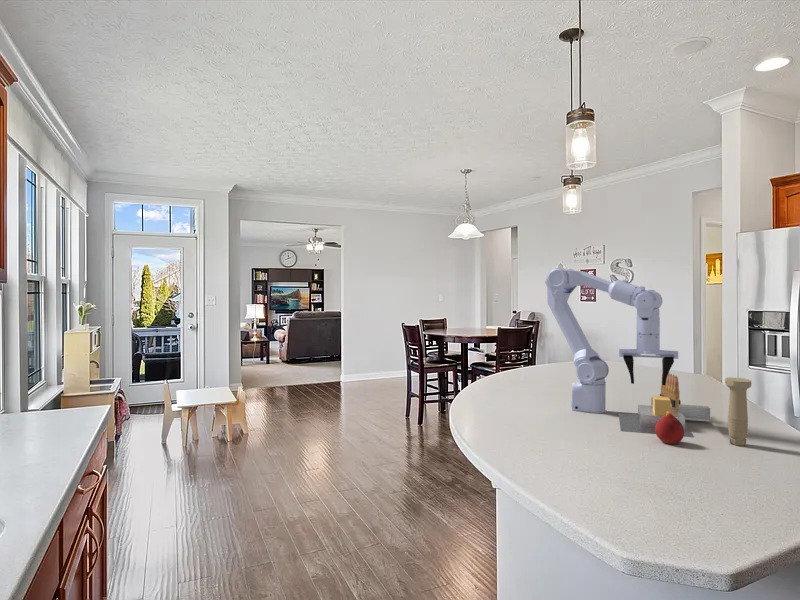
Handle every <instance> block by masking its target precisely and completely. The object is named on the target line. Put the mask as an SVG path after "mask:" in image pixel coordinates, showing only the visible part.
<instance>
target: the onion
mask: <svg viewBox="0 0 800 600" xmlns="http://www.w3.org/2000/svg"><path fill="white" fill-rule="evenodd" d="M655 432H656V434H655V435H656V436H657V438H658V439H659V440H660V441H661V442H662V443H663V444H666V445H677V444H679V443H680V442H681V441H682V440H683V438H685V437H684V428H683V426H682V424H681V423H680V421H679V420H678V419H677V418H675V417H674V416H673V415H672V414H671V413H670V412H666V416H664V417H662V418H661V419H660V420H659V421H658V422H657V424H656V426H655Z"/></svg>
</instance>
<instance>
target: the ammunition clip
mask: <svg viewBox="0 0 800 600" xmlns="http://www.w3.org/2000/svg"><path fill="white" fill-rule="evenodd" d="M679 385H680V384H679V378H678V375H675V374H672V373H670V372H669V373H668V376H667V379H666V384H665V385H662V380H661V383H660V393H659V396H668V397H669V399H670V400H671V407H677V408H678V407H679V404H682V402H681V399H680V388H679V387H680V386H679Z"/></svg>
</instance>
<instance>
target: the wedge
mask: <svg viewBox="0 0 800 600" xmlns="http://www.w3.org/2000/svg"><path fill="white" fill-rule="evenodd" d="M652 397H653V412H654V415H660V416H666V412H670V413H671V400H670V399H669V397H668V396H660V395H652Z"/></svg>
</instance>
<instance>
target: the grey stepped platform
mask: <svg viewBox="0 0 800 600" xmlns="http://www.w3.org/2000/svg"><path fill="white" fill-rule="evenodd" d="M650 403H651V405H645V404H644V405H643V404H637V414H634V413H633V414H632V413H631V414H630V413H620V412H619V413H617V414H618V419H619V427H620V432H626V433H636V434H637V433H638V434H639V433H640V434H650V435H656V432H655V426H656V424H657V422H658V421H659V420H660V419H661V418H662V417H664V416H660V415H654V412H653V396H652V397H651V399H650ZM671 414H672V415H673V416H674V417H675V418H677V419H678V420H679V421H680V423H681V424H682V426H683V428H684V437H683V438H686V437H687V438H695V436H694V434H693V433H692V431H691V430H690V429H689V427H688V425H687V424H686V419H694V420H704V421H705V420H707V421H708V420H709V421H711V408H710V407H709V406H708V405H698V404H697V405H694V404H682V403H681V404H679V407H678V408H677V407H671Z"/></svg>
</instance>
